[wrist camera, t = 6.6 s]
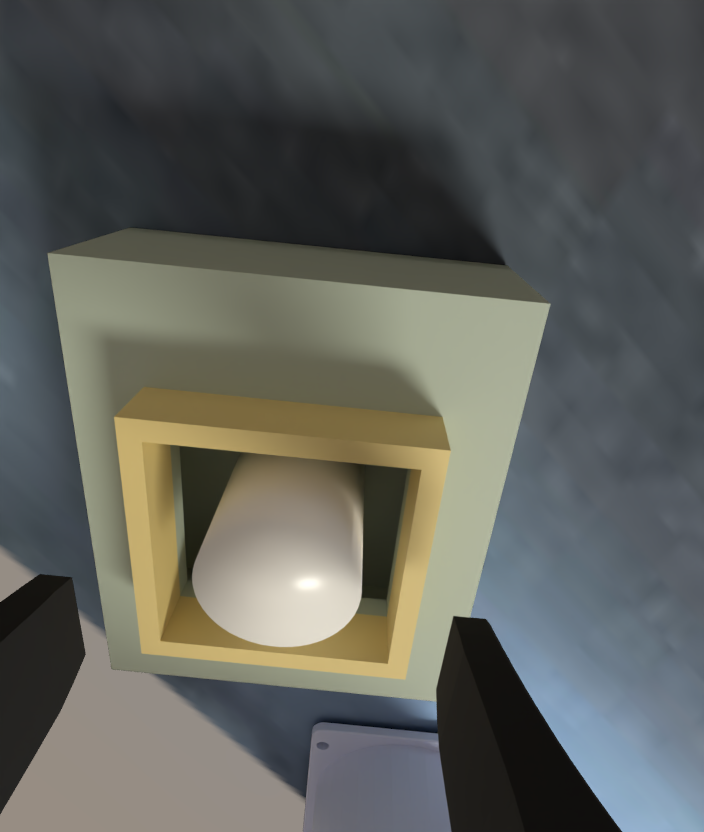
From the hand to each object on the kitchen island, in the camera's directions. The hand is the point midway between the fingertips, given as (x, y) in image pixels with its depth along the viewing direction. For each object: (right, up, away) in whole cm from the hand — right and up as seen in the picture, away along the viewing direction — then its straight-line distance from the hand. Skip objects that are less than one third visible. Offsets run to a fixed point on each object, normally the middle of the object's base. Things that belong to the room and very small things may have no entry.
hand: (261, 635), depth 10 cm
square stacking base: (0, +3, +7) cm, 7 cm away
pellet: (0, +3, +6) cm, 7 cm away
